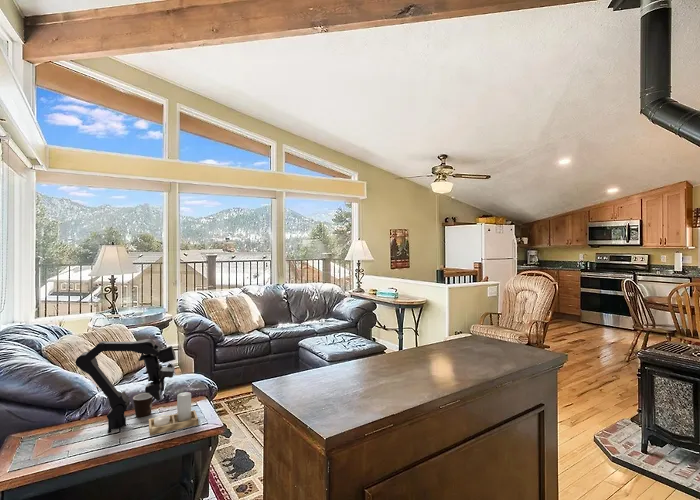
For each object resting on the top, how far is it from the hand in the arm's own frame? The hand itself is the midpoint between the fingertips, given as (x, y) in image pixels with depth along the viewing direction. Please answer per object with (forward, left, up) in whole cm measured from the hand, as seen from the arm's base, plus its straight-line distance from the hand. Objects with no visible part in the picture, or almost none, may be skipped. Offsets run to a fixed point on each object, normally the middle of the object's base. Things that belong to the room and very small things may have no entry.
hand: (161, 395), depth 185 cm
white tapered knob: (+9, -10, -11) cm, 17 cm away
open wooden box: (+5, -10, -12) cm, 16 cm away
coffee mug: (-6, +10, -12) cm, 17 cm away
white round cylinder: (0, -10, -11) cm, 15 cm away
